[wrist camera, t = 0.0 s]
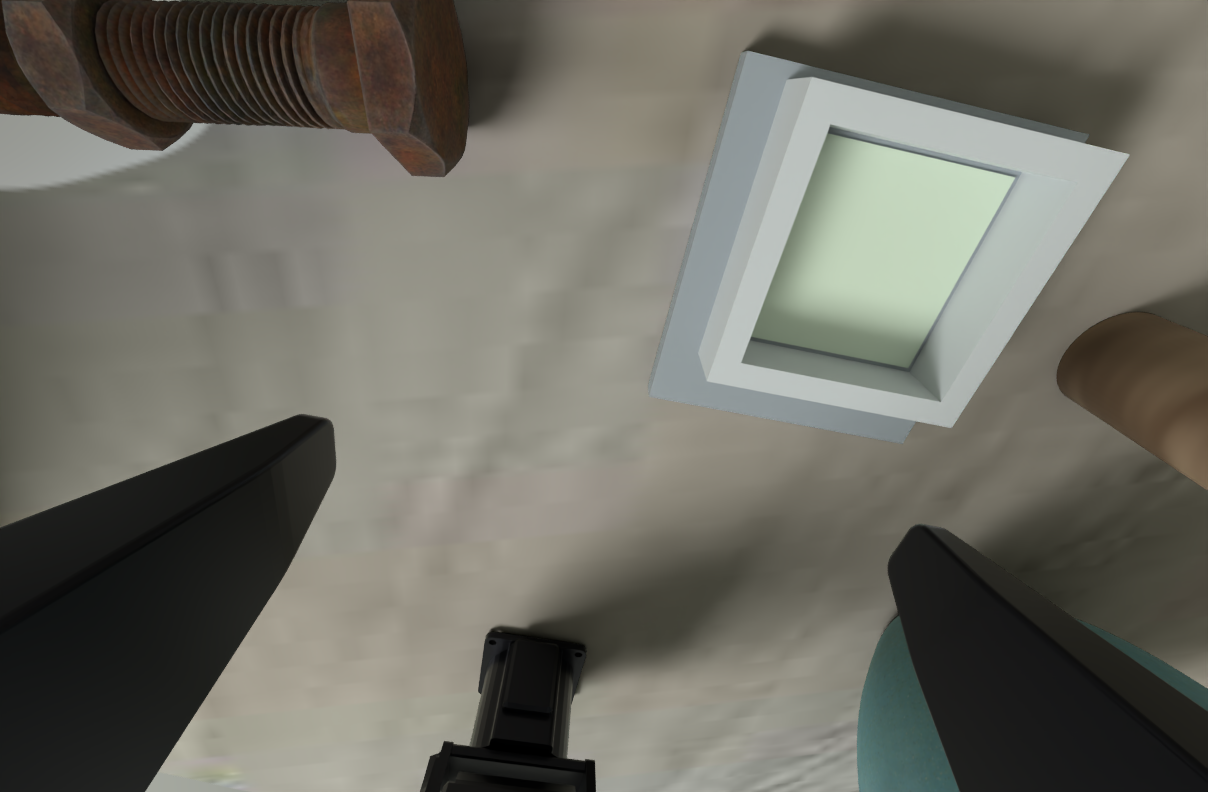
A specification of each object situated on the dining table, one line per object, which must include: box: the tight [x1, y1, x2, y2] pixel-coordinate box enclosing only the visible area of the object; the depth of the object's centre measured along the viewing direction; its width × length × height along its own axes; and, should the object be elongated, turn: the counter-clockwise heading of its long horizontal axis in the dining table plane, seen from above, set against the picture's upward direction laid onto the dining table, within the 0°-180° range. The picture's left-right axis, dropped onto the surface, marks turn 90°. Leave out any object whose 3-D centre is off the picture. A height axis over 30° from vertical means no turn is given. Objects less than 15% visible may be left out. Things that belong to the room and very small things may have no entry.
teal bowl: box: [857, 616, 1208, 792], centre depth 27 cm, size 18×18×12 cm
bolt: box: [0, 0, 469, 177], centre depth 16 cm, size 6×5×15 cm
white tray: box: [648, 51, 1130, 444], centre depth 19 cm, size 13×12×4 cm
